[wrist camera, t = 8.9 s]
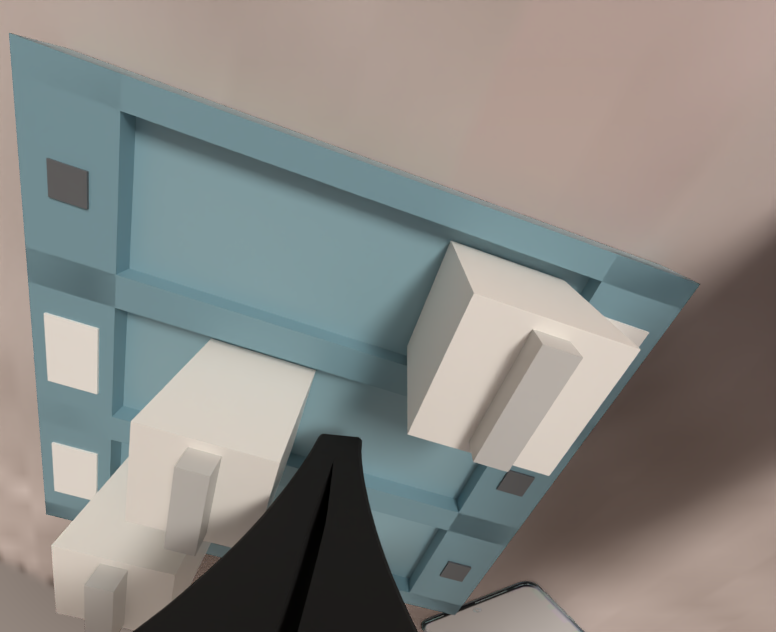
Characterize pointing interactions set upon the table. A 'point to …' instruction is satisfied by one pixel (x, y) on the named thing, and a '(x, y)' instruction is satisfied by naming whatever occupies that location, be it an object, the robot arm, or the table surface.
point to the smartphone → (506, 613)
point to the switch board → (271, 295)
